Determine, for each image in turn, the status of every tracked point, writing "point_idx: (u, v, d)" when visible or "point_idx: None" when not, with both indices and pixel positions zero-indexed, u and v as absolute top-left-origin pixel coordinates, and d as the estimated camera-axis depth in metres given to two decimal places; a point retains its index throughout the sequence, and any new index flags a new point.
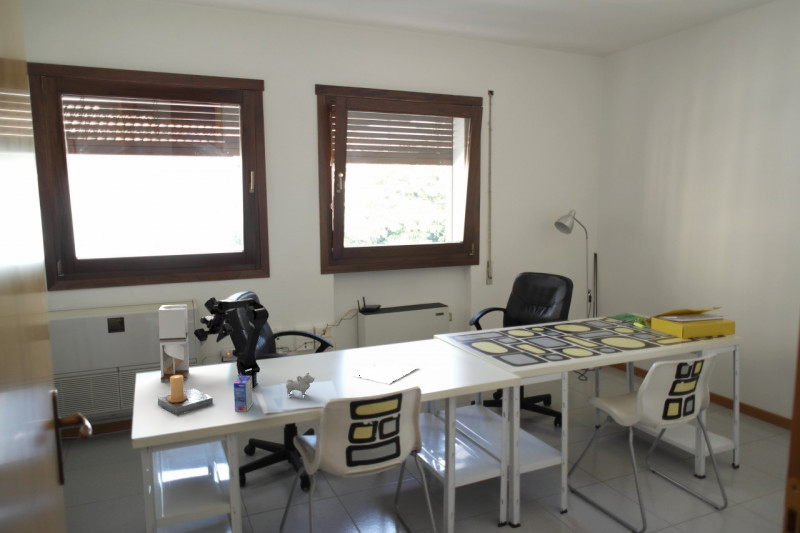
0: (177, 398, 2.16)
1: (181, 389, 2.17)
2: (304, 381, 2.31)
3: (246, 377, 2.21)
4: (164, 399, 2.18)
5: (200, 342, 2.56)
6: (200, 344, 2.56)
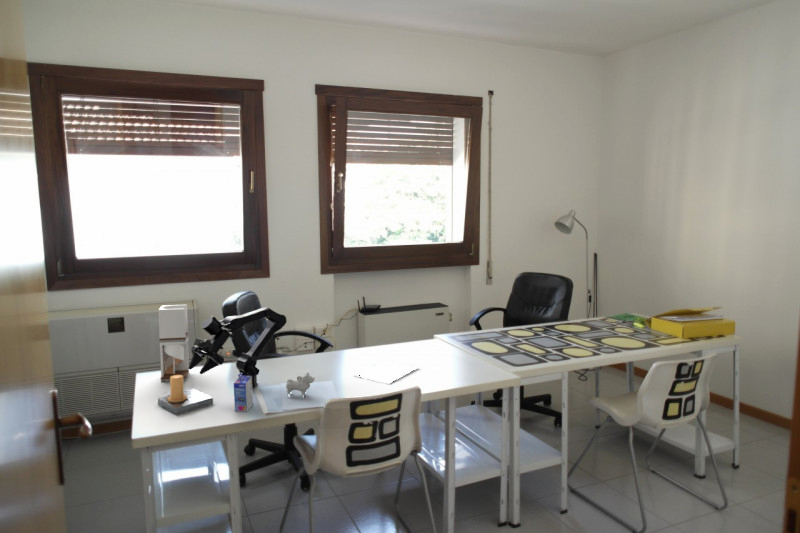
0: (177, 398, 2.16)
1: (181, 389, 2.17)
2: (304, 381, 2.31)
3: (246, 377, 2.21)
4: (164, 399, 2.18)
5: (205, 369, 2.21)
6: (202, 371, 2.20)
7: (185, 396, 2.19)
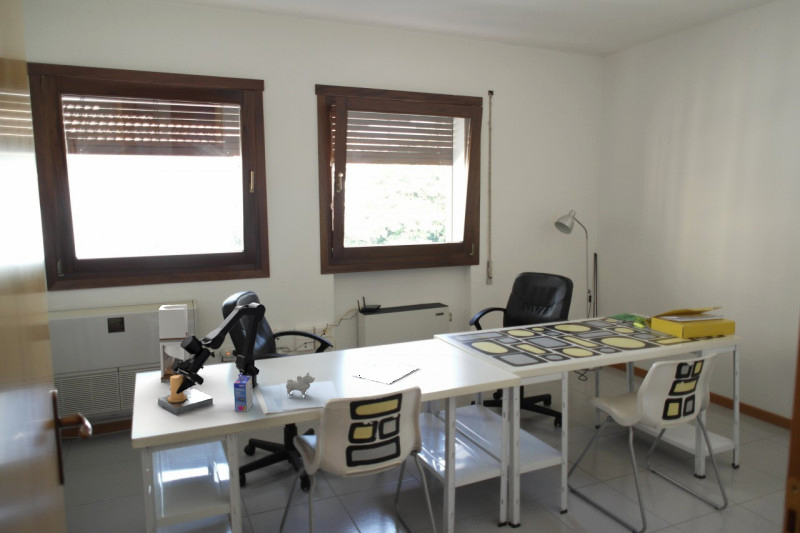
0: (177, 398, 2.16)
1: None
2: (304, 381, 2.31)
3: (246, 377, 2.21)
4: (164, 399, 2.18)
5: (182, 388, 2.15)
6: (179, 391, 2.15)
7: (185, 396, 2.19)
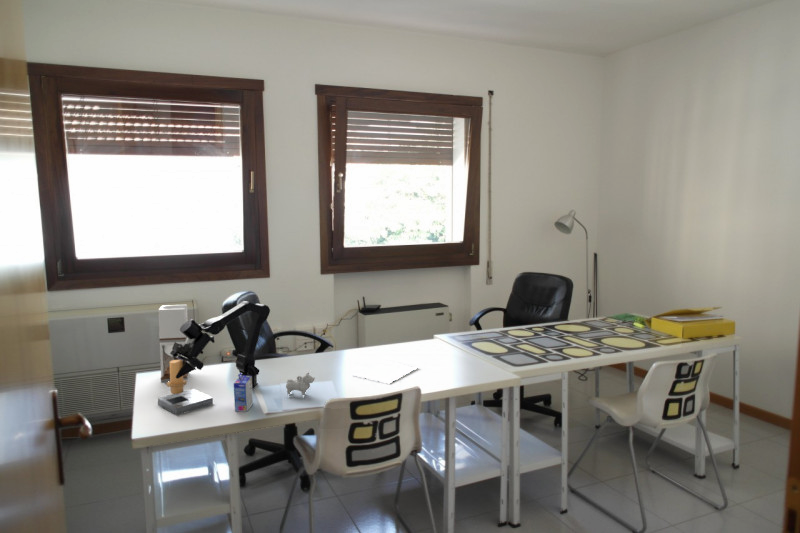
0: (177, 383, 2.15)
1: None
2: (304, 381, 2.31)
3: (246, 377, 2.21)
4: (164, 399, 2.18)
5: (181, 373, 2.15)
6: (179, 376, 2.15)
7: (185, 381, 2.19)
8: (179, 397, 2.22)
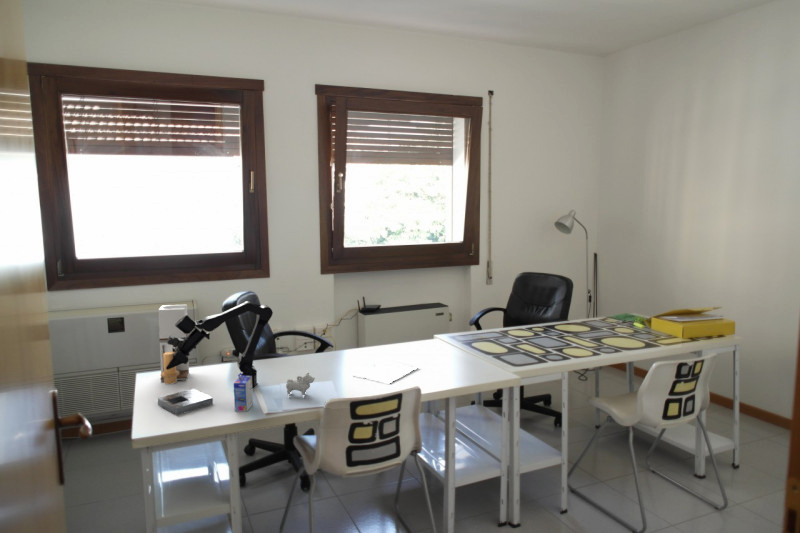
0: (167, 373, 2.27)
1: None
2: (304, 381, 2.31)
3: (246, 377, 2.21)
4: (164, 399, 2.18)
5: (171, 365, 2.26)
6: (168, 367, 2.26)
7: (177, 373, 2.29)
8: (179, 397, 2.22)
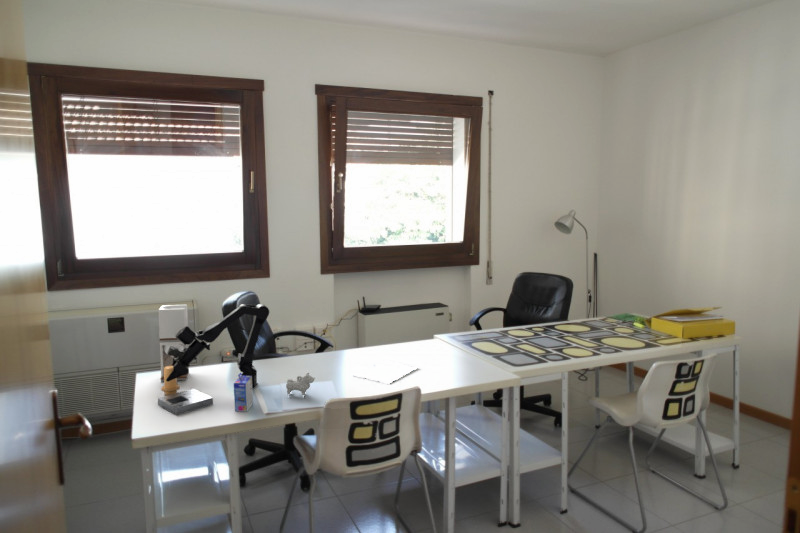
0: (168, 388, 2.28)
1: (172, 380, 2.28)
2: (304, 381, 2.31)
3: (246, 377, 2.21)
4: (164, 399, 2.18)
5: (171, 377, 2.25)
6: (169, 379, 2.25)
7: (177, 387, 2.30)
8: (179, 397, 2.22)
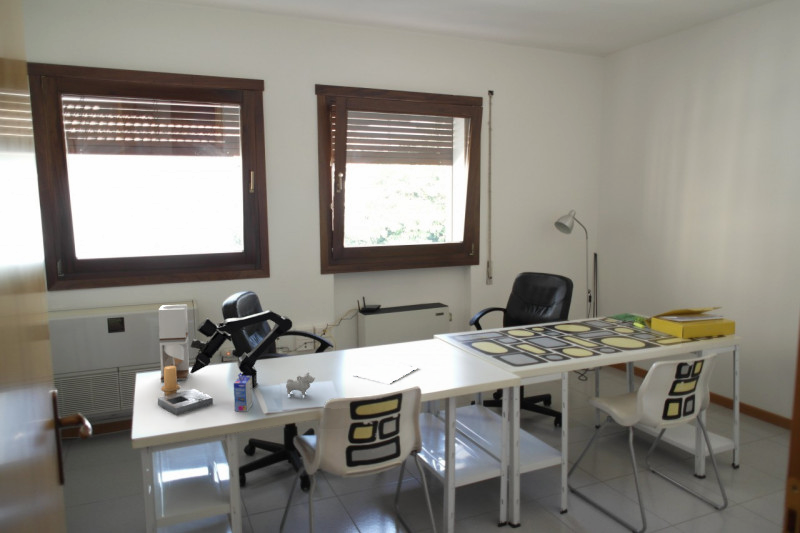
0: (168, 388, 2.28)
1: (172, 380, 2.28)
2: (304, 381, 2.31)
3: (246, 377, 2.21)
4: (164, 399, 2.18)
5: (194, 368, 2.28)
6: (192, 371, 2.29)
7: (177, 387, 2.30)
8: (179, 397, 2.22)
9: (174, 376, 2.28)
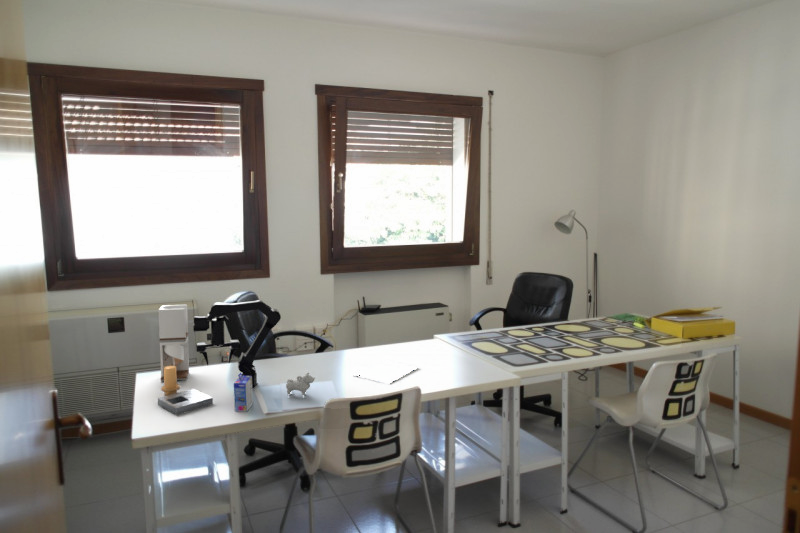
0: (168, 388, 2.28)
1: (172, 380, 2.28)
2: (304, 381, 2.31)
3: (246, 377, 2.21)
4: (164, 399, 2.18)
5: (205, 359, 2.36)
6: (206, 362, 2.36)
7: (177, 387, 2.30)
8: (179, 397, 2.22)
9: (174, 376, 2.28)
